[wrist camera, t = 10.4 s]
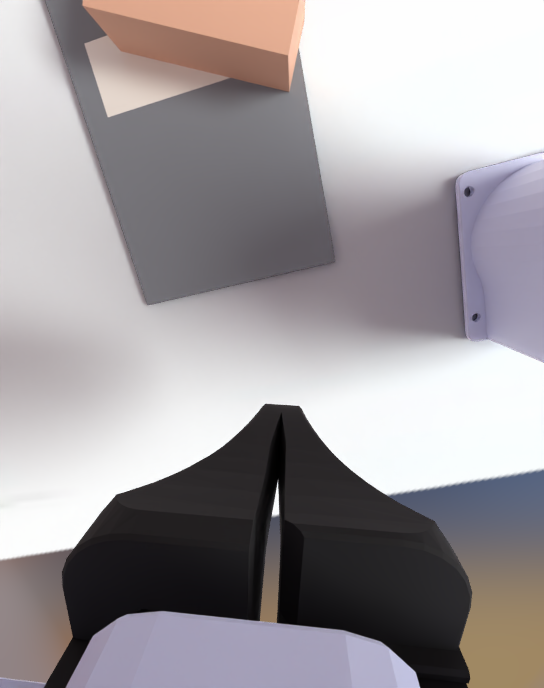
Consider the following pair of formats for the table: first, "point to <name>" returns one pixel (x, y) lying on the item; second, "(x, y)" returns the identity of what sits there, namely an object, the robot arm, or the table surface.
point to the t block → (209, 34)
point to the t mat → (198, 165)
